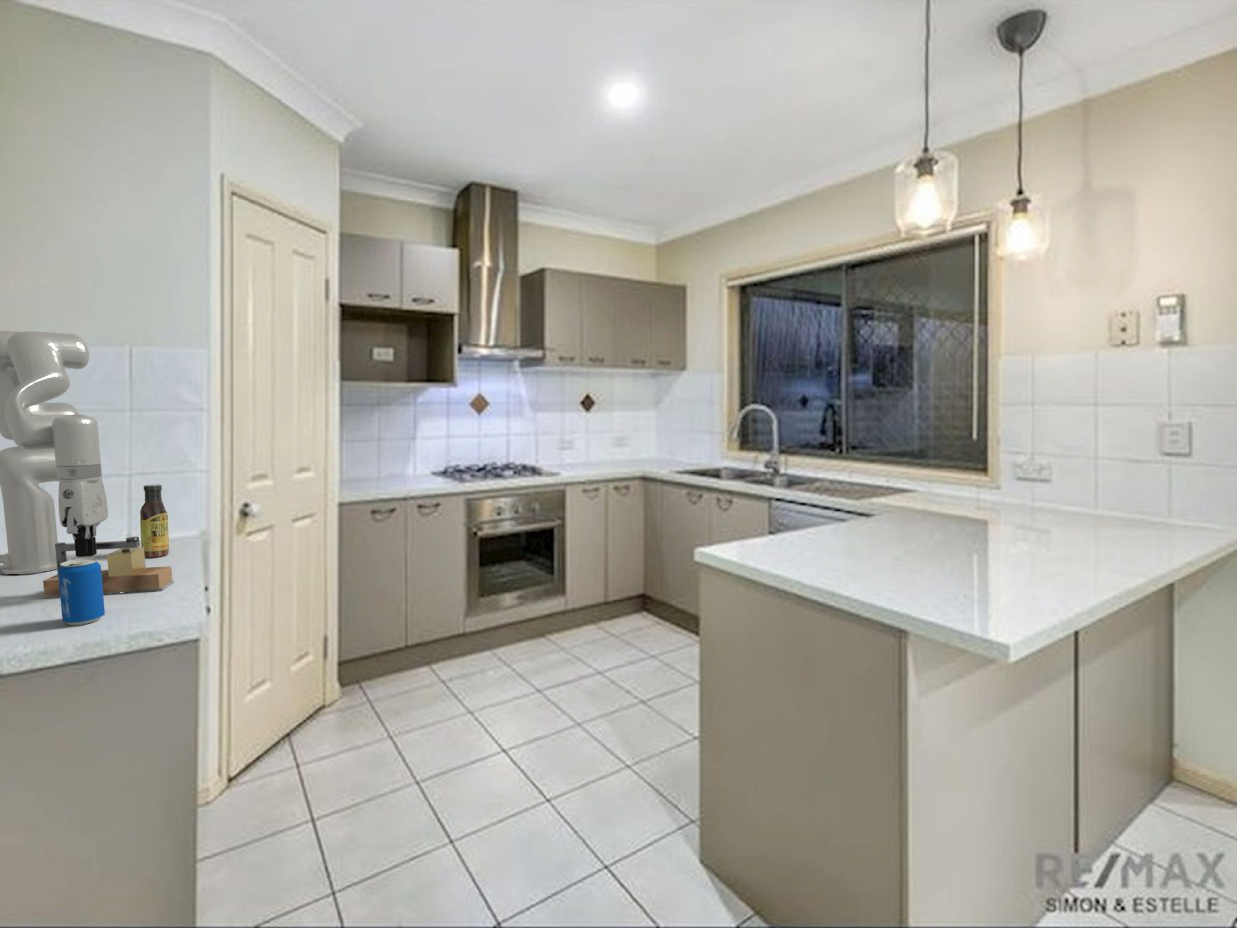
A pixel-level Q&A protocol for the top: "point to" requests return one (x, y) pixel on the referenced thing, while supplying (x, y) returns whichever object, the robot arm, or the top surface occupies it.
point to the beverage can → (81, 591)
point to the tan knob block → (126, 561)
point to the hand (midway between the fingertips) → (86, 555)
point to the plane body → (122, 582)
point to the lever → (63, 547)
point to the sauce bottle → (154, 523)
